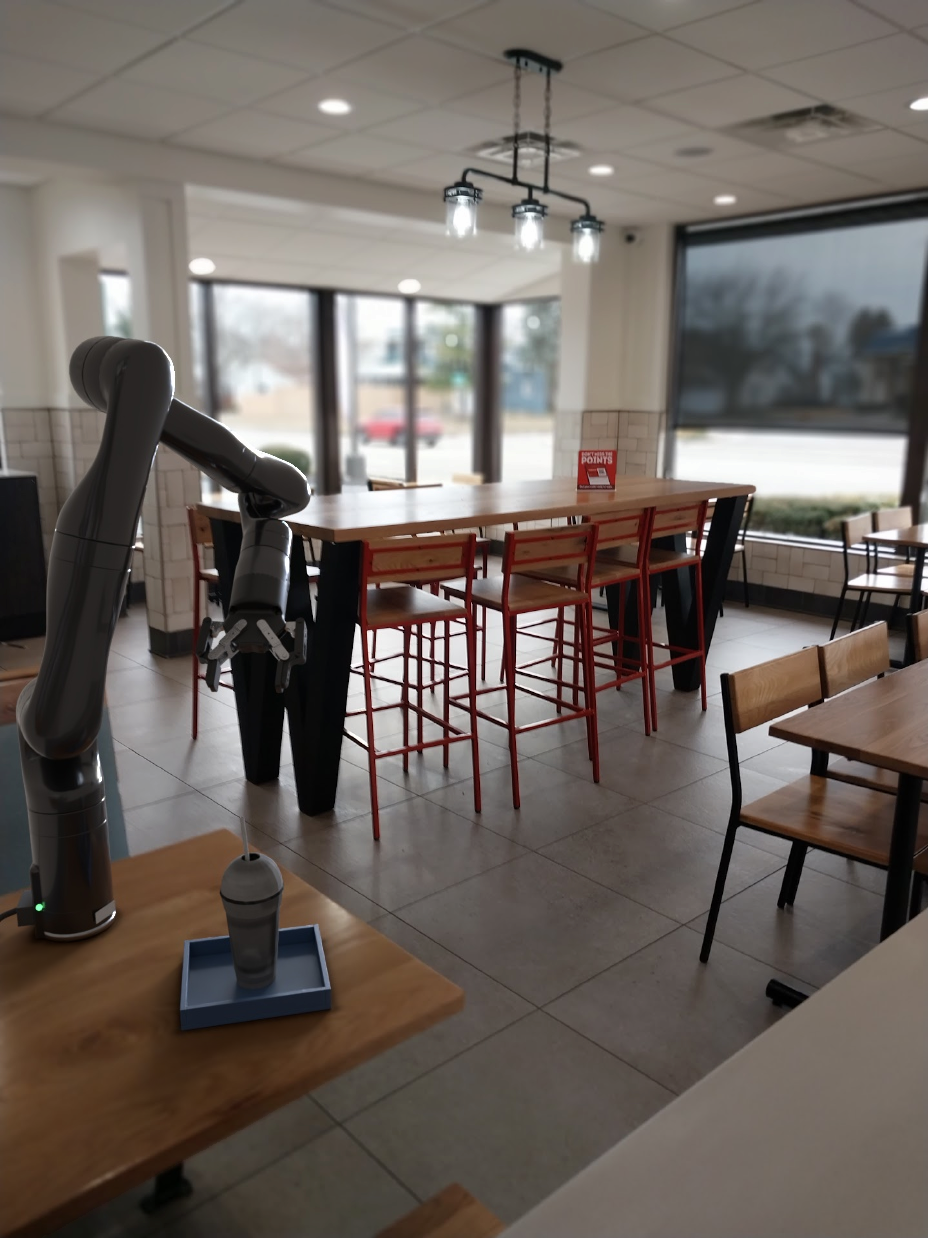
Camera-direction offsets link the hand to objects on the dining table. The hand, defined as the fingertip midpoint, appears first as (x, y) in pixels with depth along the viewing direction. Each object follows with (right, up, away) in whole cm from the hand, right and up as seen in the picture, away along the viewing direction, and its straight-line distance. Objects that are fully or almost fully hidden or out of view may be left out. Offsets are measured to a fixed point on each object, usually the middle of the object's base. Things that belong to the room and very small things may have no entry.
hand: (245, 689), depth 123 cm
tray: (+4, -34, -11) cm, 36 cm away
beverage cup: (+4, -33, -11) cm, 35 cm away
